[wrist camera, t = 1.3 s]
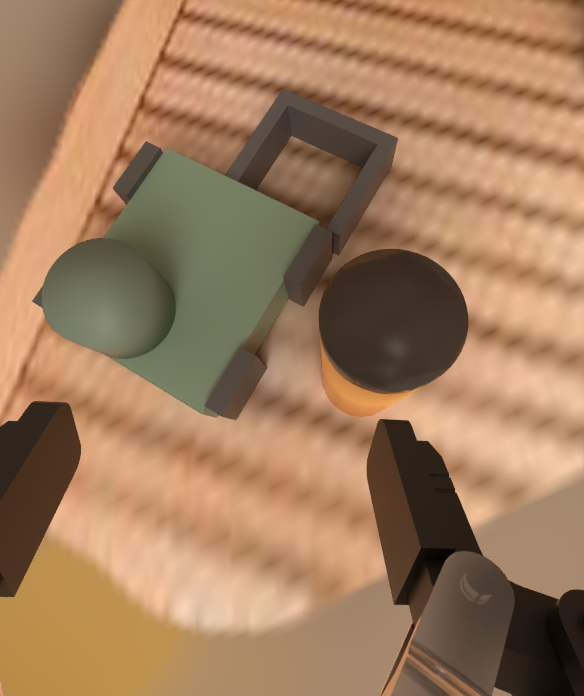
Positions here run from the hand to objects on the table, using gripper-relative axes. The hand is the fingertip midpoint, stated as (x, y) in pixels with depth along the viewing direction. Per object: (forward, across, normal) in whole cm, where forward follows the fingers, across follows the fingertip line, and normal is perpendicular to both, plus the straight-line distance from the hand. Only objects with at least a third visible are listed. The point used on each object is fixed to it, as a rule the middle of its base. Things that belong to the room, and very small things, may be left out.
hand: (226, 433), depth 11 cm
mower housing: (+22, +2, +3) cm, 22 cm away
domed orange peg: (+14, -8, +9) cm, 18 cm away
